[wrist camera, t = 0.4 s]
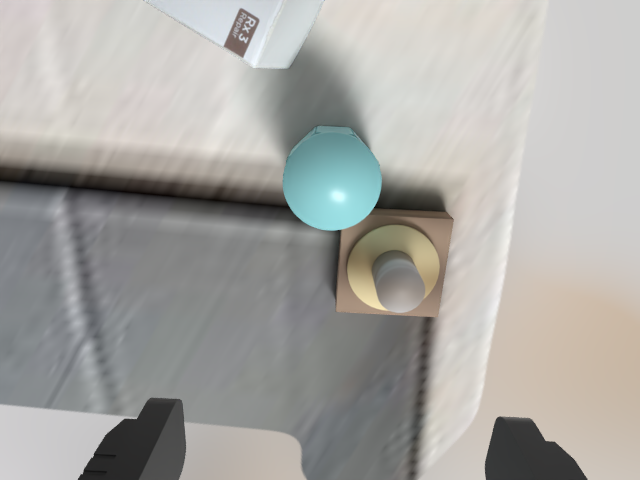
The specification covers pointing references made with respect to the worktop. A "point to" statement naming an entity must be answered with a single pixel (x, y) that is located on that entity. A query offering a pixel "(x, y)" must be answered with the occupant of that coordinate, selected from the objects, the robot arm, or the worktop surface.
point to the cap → (331, 178)
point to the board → (398, 216)
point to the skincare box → (248, 26)
